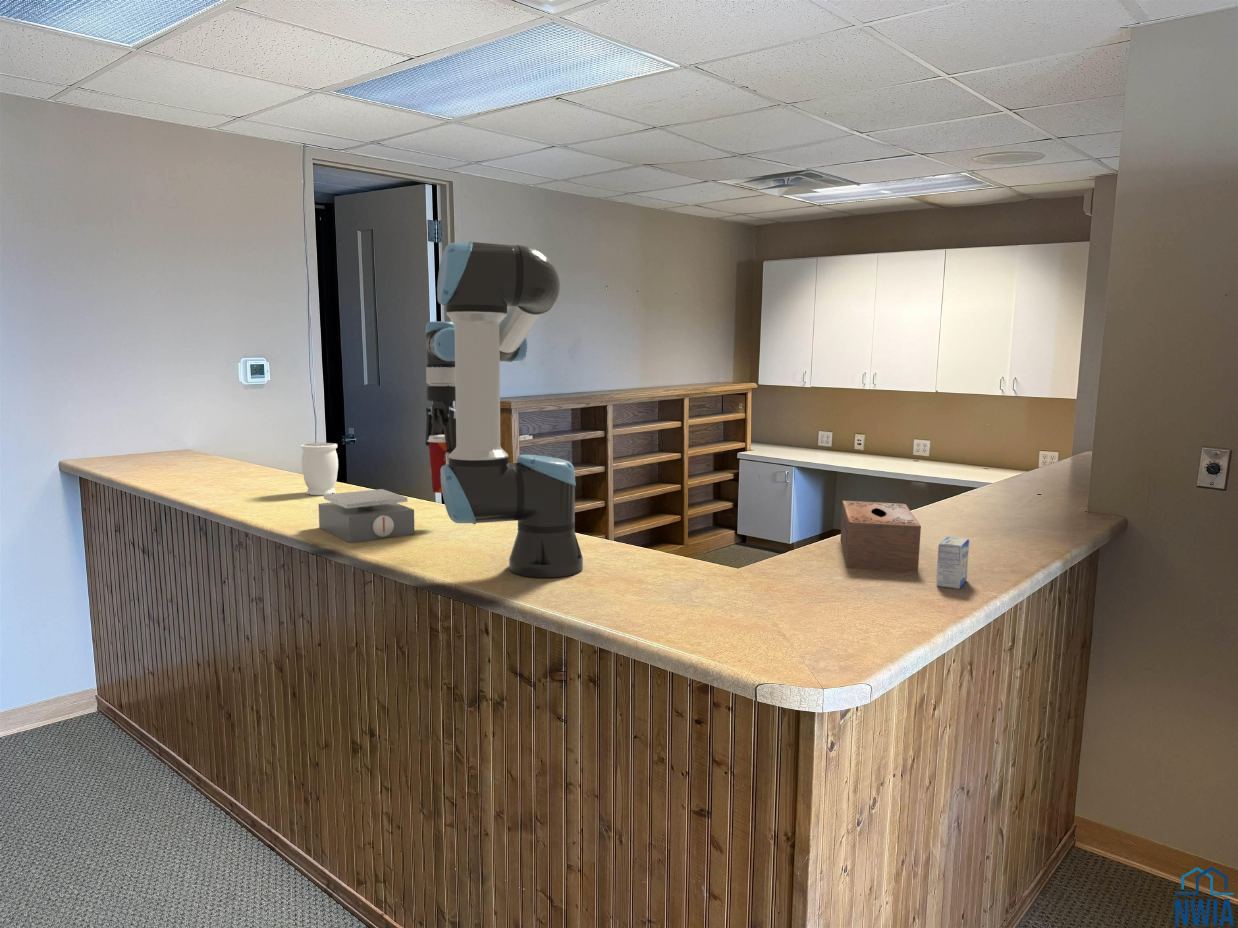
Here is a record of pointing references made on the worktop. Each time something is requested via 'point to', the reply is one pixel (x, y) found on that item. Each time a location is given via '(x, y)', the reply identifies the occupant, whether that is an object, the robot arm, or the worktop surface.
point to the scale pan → (365, 498)
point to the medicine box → (952, 562)
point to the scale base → (366, 521)
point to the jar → (320, 467)
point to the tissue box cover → (880, 536)
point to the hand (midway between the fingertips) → (444, 476)
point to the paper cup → (437, 459)
